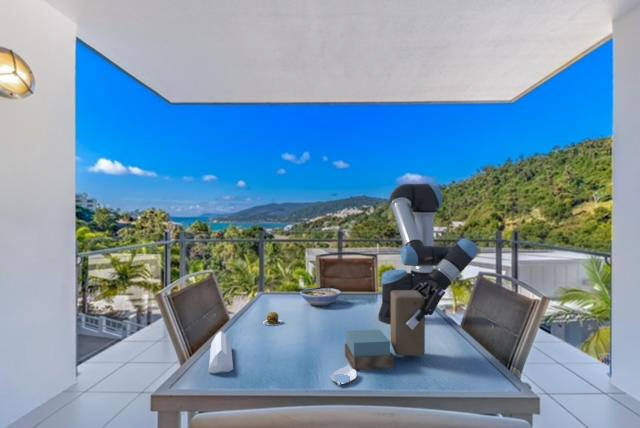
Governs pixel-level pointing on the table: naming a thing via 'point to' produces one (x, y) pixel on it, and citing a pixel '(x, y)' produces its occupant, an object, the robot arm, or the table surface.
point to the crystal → (220, 354)
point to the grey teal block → (367, 343)
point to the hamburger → (272, 319)
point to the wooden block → (401, 312)
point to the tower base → (369, 361)
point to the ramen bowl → (320, 295)
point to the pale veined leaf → (345, 373)
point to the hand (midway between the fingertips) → (401, 321)
